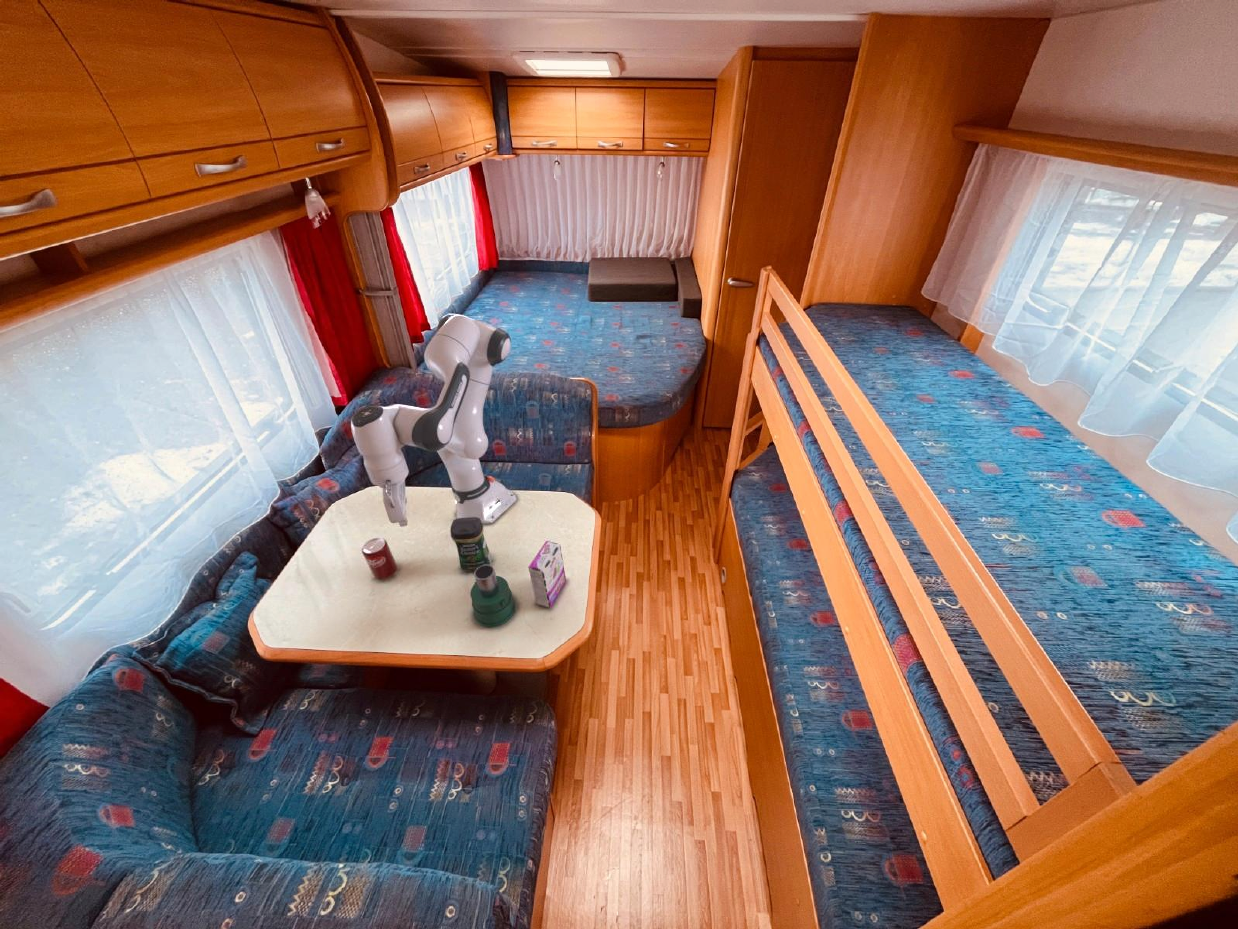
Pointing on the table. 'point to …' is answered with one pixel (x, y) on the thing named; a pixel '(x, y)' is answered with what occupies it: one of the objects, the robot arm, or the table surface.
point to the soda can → (379, 558)
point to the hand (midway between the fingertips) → (403, 513)
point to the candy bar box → (547, 574)
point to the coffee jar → (470, 543)
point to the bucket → (493, 605)
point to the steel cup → (486, 580)
